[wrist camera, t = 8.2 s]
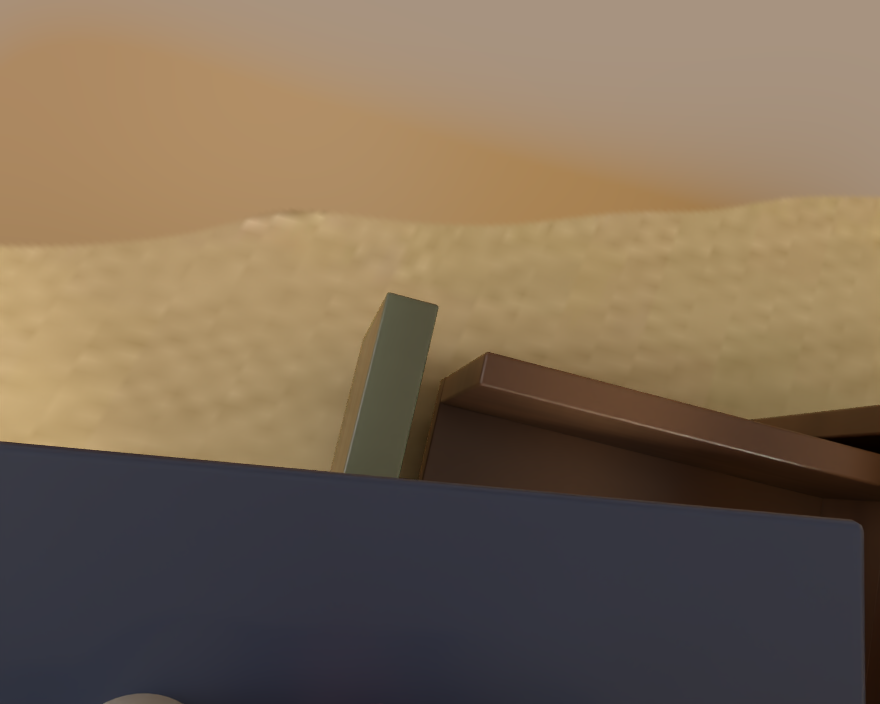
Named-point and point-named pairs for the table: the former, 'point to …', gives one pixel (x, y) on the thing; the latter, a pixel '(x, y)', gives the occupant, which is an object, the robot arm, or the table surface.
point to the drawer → (590, 438)
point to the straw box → (406, 591)
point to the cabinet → (860, 430)
